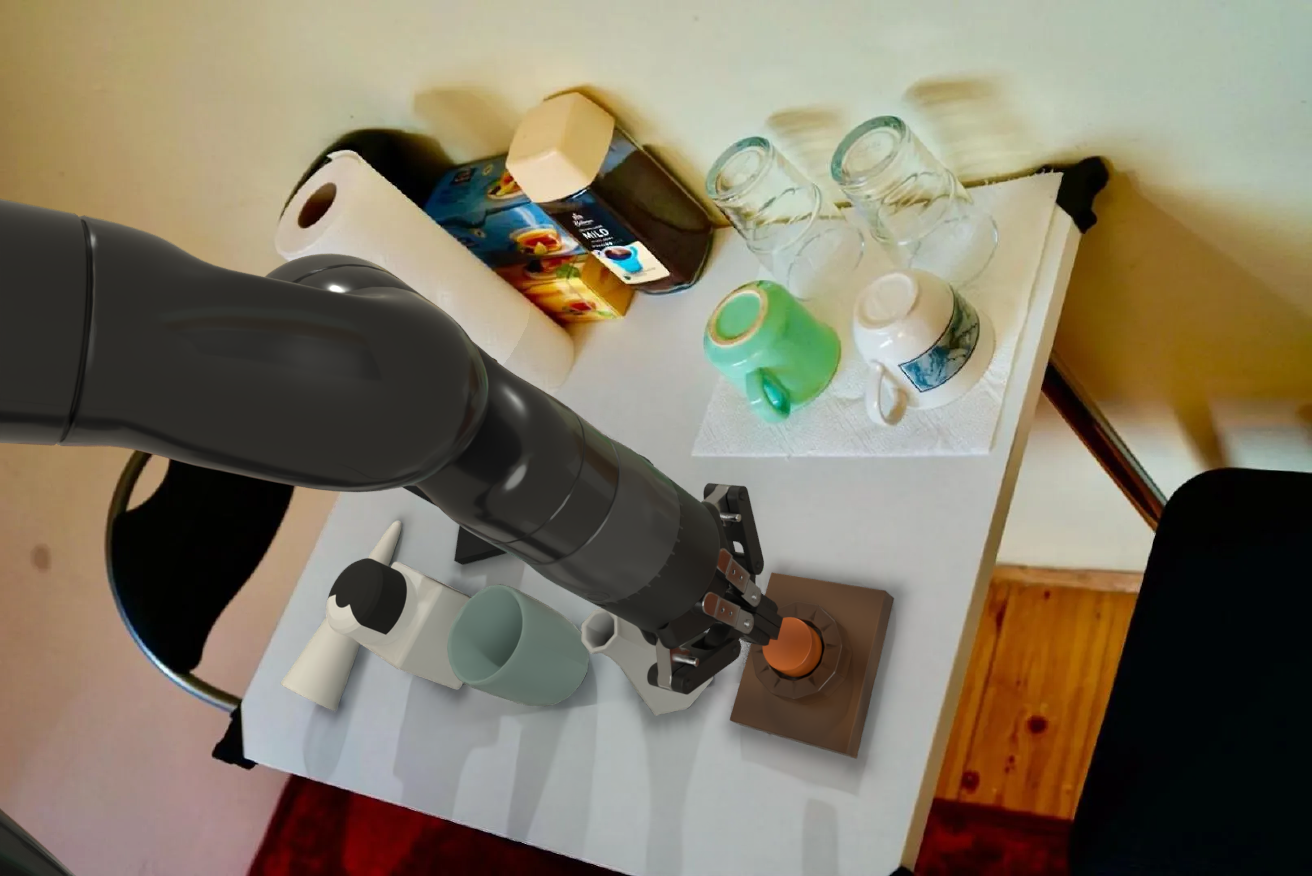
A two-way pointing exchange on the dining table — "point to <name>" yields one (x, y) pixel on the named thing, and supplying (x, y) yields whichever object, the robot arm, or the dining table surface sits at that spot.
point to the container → (397, 616)
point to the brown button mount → (819, 666)
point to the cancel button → (794, 648)
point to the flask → (632, 659)
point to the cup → (516, 648)
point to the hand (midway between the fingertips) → (767, 627)
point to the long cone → (333, 648)
